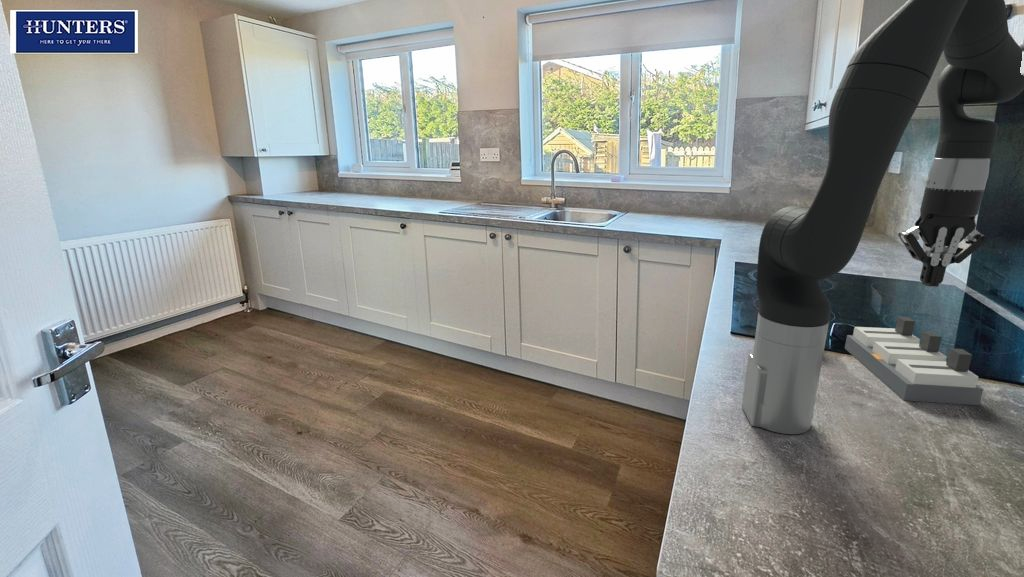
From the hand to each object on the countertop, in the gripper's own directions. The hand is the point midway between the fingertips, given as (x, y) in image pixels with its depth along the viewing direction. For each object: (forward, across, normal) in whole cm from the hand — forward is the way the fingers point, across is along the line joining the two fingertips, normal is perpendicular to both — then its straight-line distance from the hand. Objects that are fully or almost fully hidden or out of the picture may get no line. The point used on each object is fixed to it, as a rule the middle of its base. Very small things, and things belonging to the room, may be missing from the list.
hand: (929, 285), depth 87 cm
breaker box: (+17, -1, 0) cm, 17 cm away
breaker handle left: (+12, +2, +8) cm, 14 cm away
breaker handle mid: (+12, +2, 0) cm, 12 cm away
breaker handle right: (+12, +2, -8) cm, 15 cm away
